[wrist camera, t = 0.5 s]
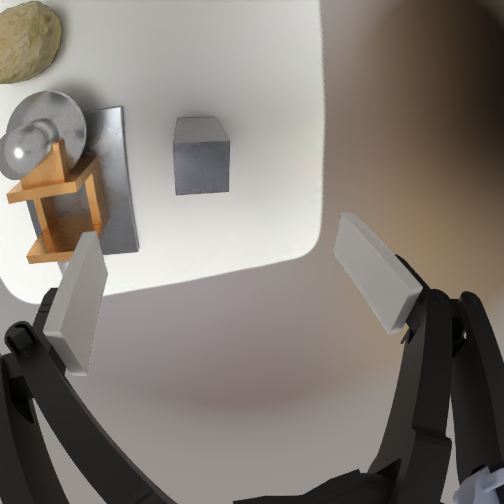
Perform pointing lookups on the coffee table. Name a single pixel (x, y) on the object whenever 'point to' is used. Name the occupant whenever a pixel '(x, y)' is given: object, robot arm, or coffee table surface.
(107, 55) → the coffee table surface
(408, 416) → the robot arm
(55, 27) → the decorative object
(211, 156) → the dark gray rectangular block
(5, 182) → the coffee table surface
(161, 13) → the coffee table surface
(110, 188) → the multicoloured piece
